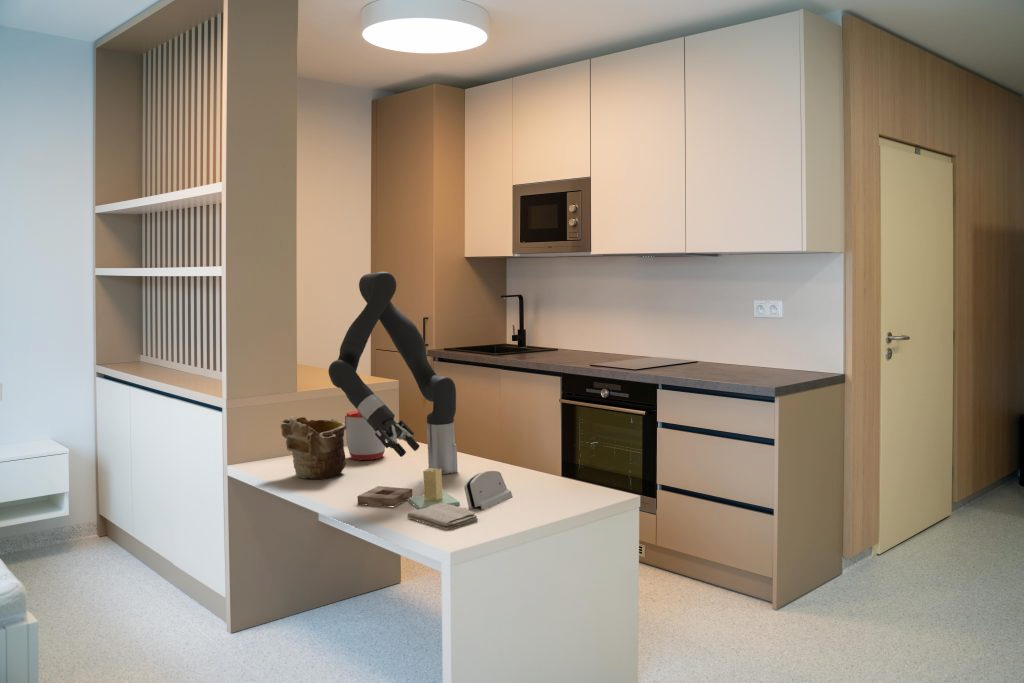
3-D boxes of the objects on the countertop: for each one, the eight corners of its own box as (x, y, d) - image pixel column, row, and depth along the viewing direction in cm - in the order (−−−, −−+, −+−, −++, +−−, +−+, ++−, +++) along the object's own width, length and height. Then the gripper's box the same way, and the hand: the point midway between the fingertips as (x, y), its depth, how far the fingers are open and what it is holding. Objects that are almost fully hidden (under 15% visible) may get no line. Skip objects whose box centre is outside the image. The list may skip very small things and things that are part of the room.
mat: (446, 495, 253) (446, 492, 253) (459, 505, 242) (459, 501, 242) (408, 500, 248) (408, 497, 248) (420, 510, 237) (420, 507, 237)
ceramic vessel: (382, 447, 287) (342, 397, 274) (338, 501, 275) (294, 452, 262) (344, 438, 303) (305, 391, 290) (301, 489, 291) (258, 442, 278)
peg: (430, 497, 247) (429, 467, 247) (442, 498, 246) (441, 468, 245) (424, 501, 244) (423, 471, 243) (436, 501, 242) (435, 471, 241)
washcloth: (448, 532, 218) (448, 521, 217) (405, 520, 230) (405, 509, 230) (480, 522, 226) (480, 511, 226) (437, 510, 238) (437, 500, 238)
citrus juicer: (343, 454, 317) (341, 403, 315) (389, 452, 319) (386, 401, 317) (339, 463, 302) (336, 409, 300) (387, 461, 303) (385, 407, 302)
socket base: (378, 494, 257) (378, 486, 257) (412, 496, 252) (412, 488, 252) (357, 504, 246) (357, 496, 245) (393, 507, 241) (392, 498, 241)
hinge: (482, 510, 235) (472, 476, 237) (470, 514, 238) (459, 480, 239) (513, 496, 250) (503, 464, 251) (501, 499, 252) (490, 468, 253)
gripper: (370, 408, 242) (407, 448, 238) (394, 400, 255) (429, 438, 252) (355, 425, 244) (391, 465, 241) (380, 417, 257) (414, 455, 254)
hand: (410, 451), depth 246 cm, fingers open, 8 cm apart
